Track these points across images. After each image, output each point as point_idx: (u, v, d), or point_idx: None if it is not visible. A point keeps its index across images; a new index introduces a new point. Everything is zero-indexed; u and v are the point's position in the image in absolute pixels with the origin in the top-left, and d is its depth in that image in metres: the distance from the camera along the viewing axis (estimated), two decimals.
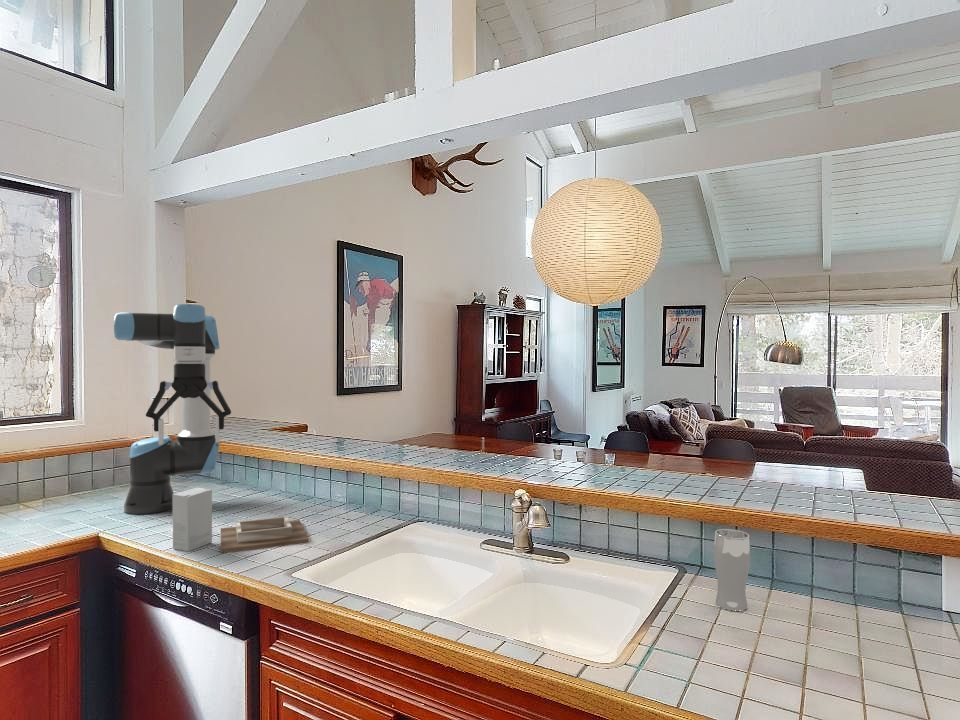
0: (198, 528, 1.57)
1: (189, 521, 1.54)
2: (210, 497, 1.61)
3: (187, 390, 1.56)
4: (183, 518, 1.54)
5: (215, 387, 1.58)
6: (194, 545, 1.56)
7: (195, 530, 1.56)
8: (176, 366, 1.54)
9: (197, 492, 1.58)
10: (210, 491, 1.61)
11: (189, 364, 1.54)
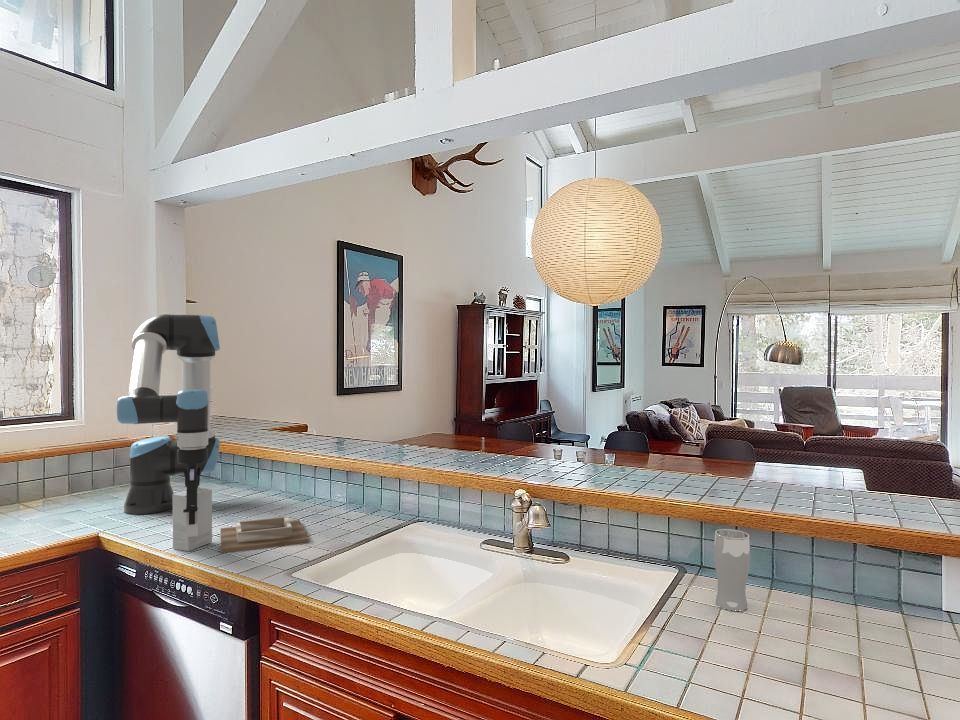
0: (198, 528, 1.57)
1: None
2: (210, 497, 1.61)
3: None
4: (183, 518, 1.55)
5: (186, 479, 1.53)
6: (194, 545, 1.56)
7: None
8: None
9: (197, 492, 1.58)
10: (210, 491, 1.61)
11: (178, 449, 1.57)
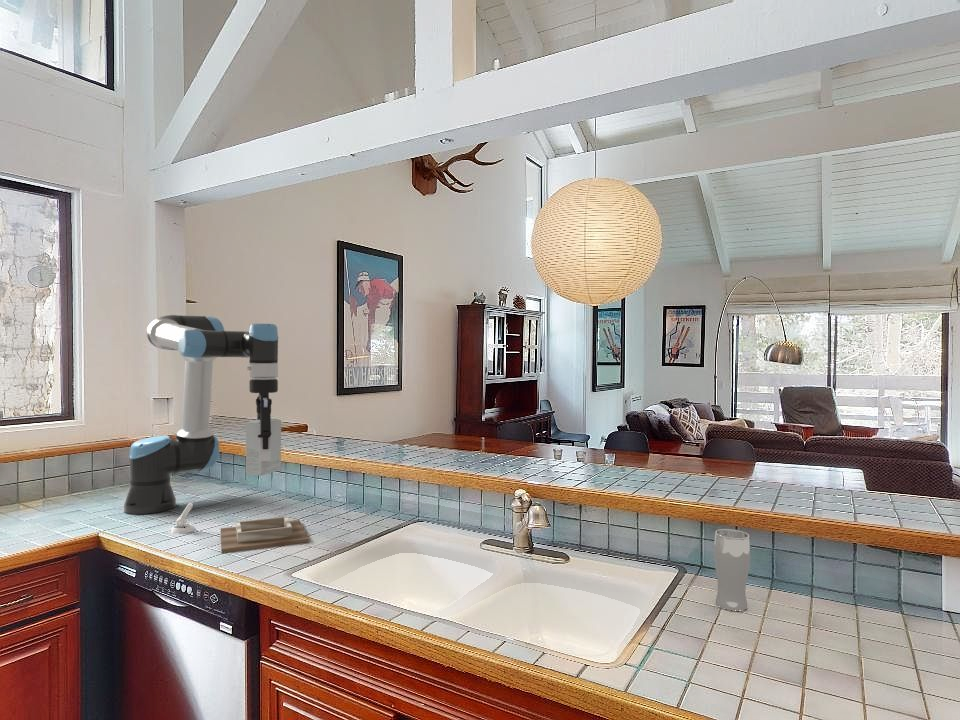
0: (270, 455, 1.65)
1: None
2: (279, 426, 1.69)
3: None
4: (256, 444, 1.63)
5: (260, 406, 1.61)
6: (267, 470, 1.64)
7: None
8: None
9: None
10: (279, 421, 1.69)
11: (250, 380, 1.65)
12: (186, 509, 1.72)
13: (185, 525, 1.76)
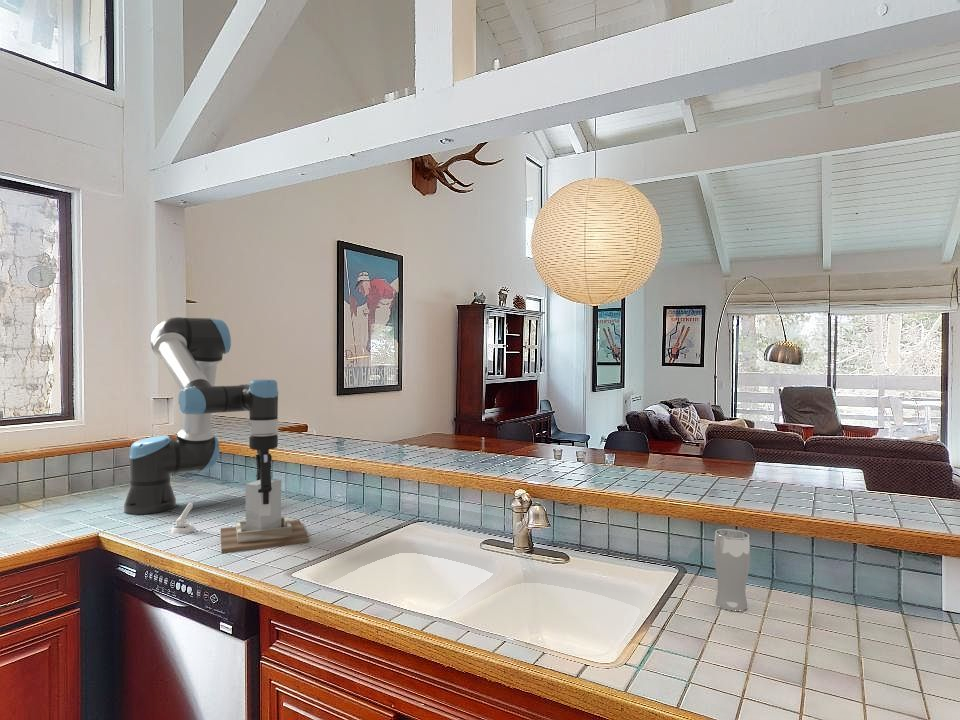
0: (270, 516, 1.65)
1: None
2: (279, 487, 1.69)
3: None
4: (256, 506, 1.63)
5: (260, 462, 1.61)
6: None
7: (266, 518, 1.64)
8: None
9: None
10: (279, 481, 1.69)
11: (250, 436, 1.65)
12: (186, 509, 1.72)
13: (185, 525, 1.76)
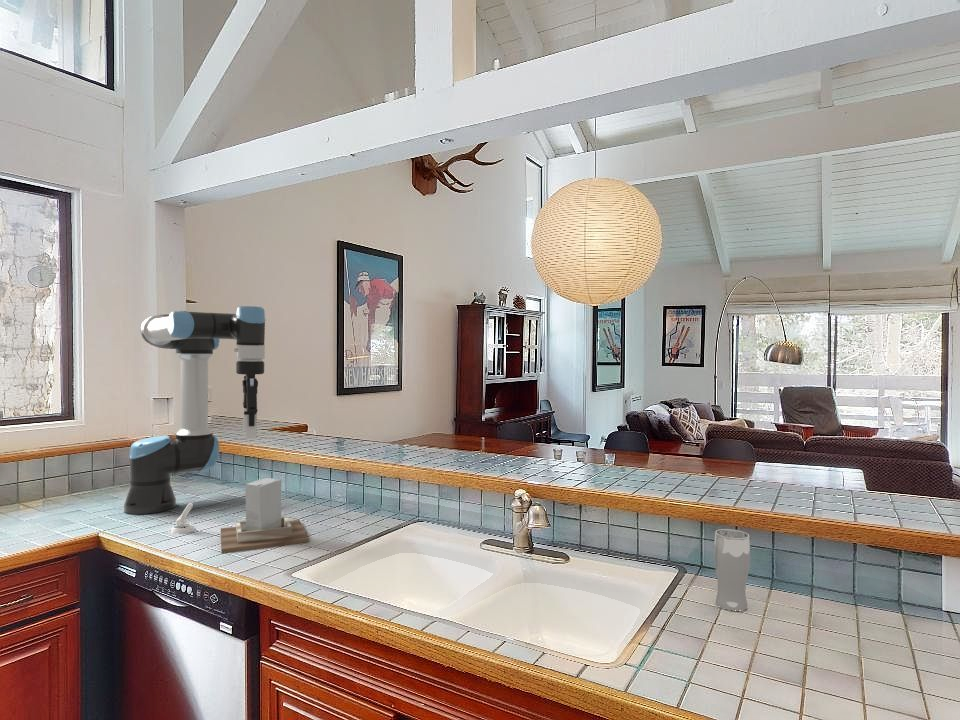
0: (270, 516, 1.65)
1: (262, 509, 1.63)
2: (279, 487, 1.69)
3: None
4: (256, 506, 1.63)
5: (247, 385, 1.64)
6: None
7: (266, 518, 1.64)
8: None
9: (268, 482, 1.66)
10: (279, 481, 1.69)
11: None
12: (186, 509, 1.72)
13: (185, 525, 1.76)
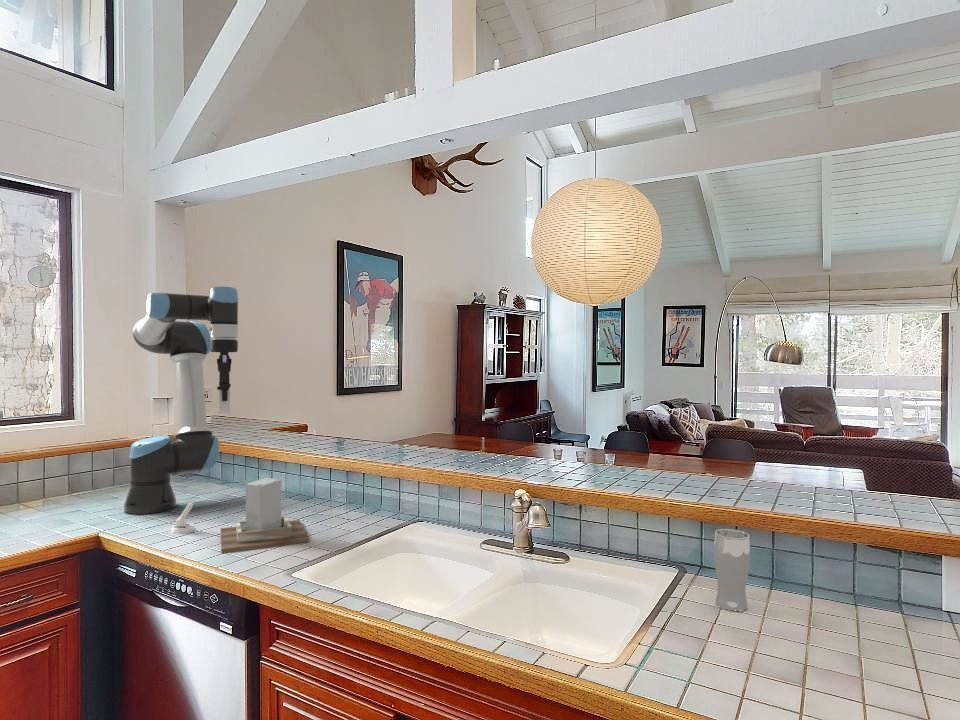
0: (270, 516, 1.65)
1: (262, 509, 1.63)
2: (279, 487, 1.69)
3: None
4: (256, 506, 1.63)
5: (220, 361, 1.70)
6: None
7: (266, 518, 1.64)
8: None
9: (268, 482, 1.66)
10: (279, 481, 1.69)
11: (211, 340, 1.74)
12: (186, 509, 1.72)
13: (185, 525, 1.76)
